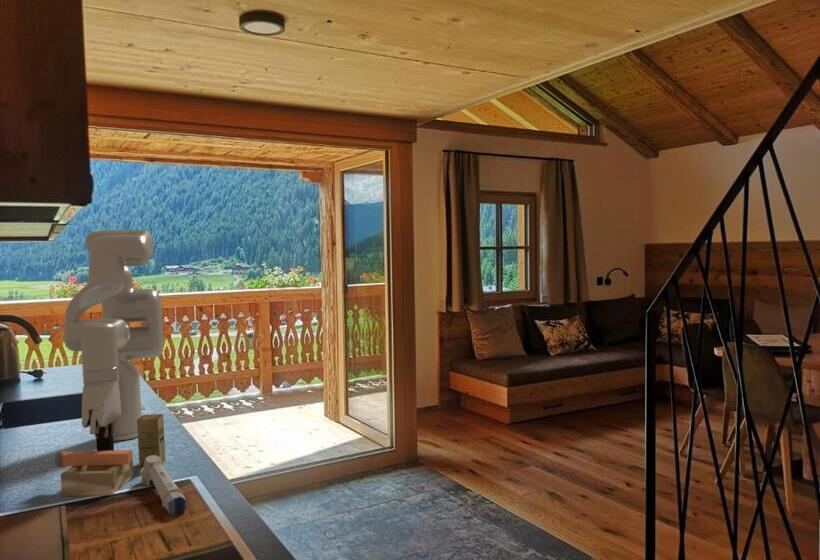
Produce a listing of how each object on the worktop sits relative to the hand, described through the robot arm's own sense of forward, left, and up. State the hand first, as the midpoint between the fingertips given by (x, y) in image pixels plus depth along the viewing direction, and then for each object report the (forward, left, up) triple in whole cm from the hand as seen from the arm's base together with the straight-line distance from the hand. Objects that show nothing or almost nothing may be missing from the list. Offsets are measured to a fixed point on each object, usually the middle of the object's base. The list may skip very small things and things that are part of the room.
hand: (105, 452), depth 146 cm
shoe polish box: (-10, +6, -7) cm, 14 cm away
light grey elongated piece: (+10, +17, -7) cm, 21 cm away
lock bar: (+4, -1, -2) cm, 4 cm away
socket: (+4, 0, -7) cm, 7 cm away
